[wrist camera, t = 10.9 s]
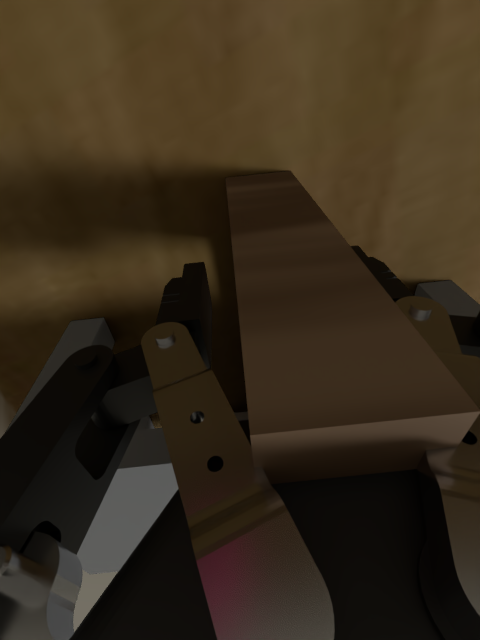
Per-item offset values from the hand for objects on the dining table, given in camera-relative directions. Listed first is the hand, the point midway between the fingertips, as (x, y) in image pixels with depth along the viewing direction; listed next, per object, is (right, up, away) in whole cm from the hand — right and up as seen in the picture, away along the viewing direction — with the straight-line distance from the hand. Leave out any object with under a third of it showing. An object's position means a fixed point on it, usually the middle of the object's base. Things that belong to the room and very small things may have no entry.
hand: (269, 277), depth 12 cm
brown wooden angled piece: (0, -2, +8) cm, 8 cm away
